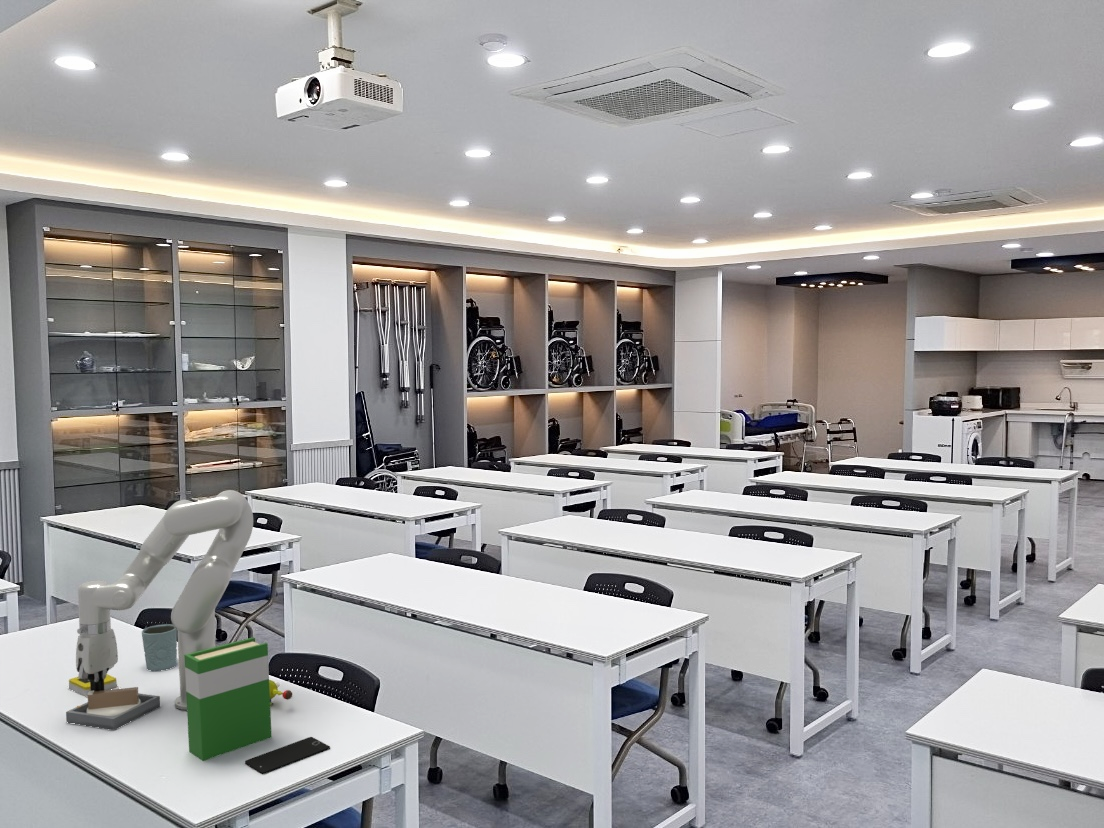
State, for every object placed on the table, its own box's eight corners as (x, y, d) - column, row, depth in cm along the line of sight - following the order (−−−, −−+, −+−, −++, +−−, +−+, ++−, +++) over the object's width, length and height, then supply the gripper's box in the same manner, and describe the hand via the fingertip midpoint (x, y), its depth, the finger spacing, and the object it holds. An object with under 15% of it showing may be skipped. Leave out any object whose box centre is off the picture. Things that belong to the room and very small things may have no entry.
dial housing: (160, 706, 245) (159, 695, 245) (113, 730, 230) (113, 718, 230) (114, 700, 251) (114, 689, 251) (66, 723, 236) (65, 711, 236)
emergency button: (96, 665, 269) (121, 675, 260) (97, 679, 269) (122, 690, 260) (64, 674, 261) (88, 685, 252) (65, 689, 262) (89, 700, 252)
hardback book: (257, 729, 229) (253, 637, 228) (271, 737, 224) (267, 643, 223) (189, 751, 217) (184, 654, 215) (202, 761, 212) (197, 661, 210)
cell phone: (331, 750, 217) (331, 746, 217) (262, 776, 204) (262, 772, 204) (311, 739, 223) (311, 736, 223) (243, 764, 210) (243, 760, 210)
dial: (144, 698, 248) (143, 678, 248) (135, 716, 236) (134, 695, 236) (93, 704, 245) (92, 683, 245) (81, 722, 233) (80, 701, 232)
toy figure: (299, 707, 243) (299, 682, 243) (284, 714, 239) (283, 689, 238) (254, 695, 252) (253, 671, 252) (238, 702, 248) (237, 678, 247)
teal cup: (162, 673, 272) (160, 635, 271) (135, 670, 275) (133, 632, 274) (186, 662, 281) (184, 625, 280) (160, 659, 284) (158, 622, 284)
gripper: (82, 637, 232) (84, 706, 234) (128, 621, 246) (130, 686, 248) (60, 634, 235) (63, 702, 236) (107, 618, 249) (109, 683, 250)
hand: (97, 694), depth 242 cm, fingers closed
